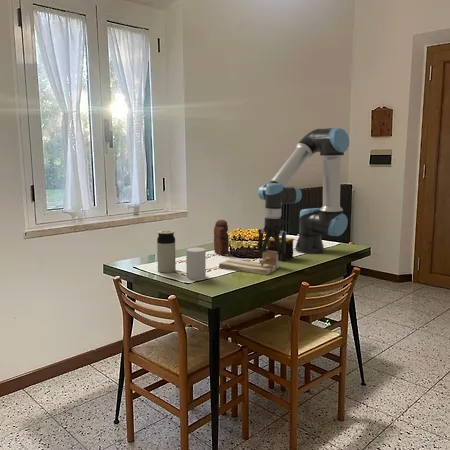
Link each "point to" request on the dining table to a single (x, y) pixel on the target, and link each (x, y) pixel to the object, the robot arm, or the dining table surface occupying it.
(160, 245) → the travel mug
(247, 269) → the board
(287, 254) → the candle
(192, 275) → the grey cylinder
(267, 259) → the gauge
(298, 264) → the dining table surface
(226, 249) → the wooden figurine
